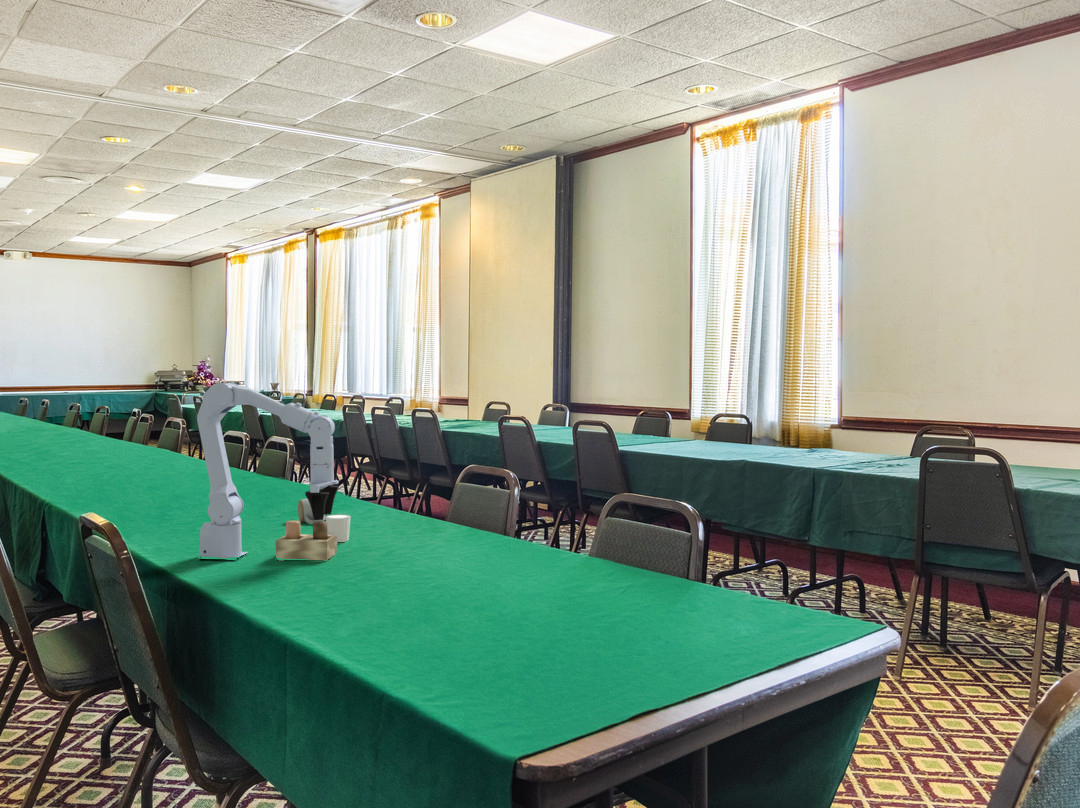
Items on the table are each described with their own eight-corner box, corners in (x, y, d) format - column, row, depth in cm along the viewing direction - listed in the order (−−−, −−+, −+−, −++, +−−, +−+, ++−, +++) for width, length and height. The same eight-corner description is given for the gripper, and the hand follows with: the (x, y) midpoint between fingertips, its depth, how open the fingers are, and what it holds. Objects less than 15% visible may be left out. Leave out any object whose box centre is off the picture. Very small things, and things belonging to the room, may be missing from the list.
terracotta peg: (283, 541, 213) (283, 522, 213) (288, 539, 217) (288, 520, 217) (297, 542, 213) (297, 523, 213) (302, 539, 217) (302, 520, 217)
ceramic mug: (296, 520, 266) (296, 496, 266) (323, 518, 270) (323, 494, 269) (303, 526, 257) (303, 501, 256) (330, 524, 260) (330, 499, 260)
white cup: (354, 539, 238) (354, 514, 238) (346, 544, 231) (346, 518, 231) (330, 538, 239) (330, 513, 238) (321, 543, 232) (321, 518, 232)
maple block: (275, 560, 212) (275, 540, 211) (287, 553, 219) (287, 534, 219) (327, 561, 211) (327, 541, 211) (336, 554, 219) (336, 535, 218)
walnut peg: (310, 542, 213) (310, 523, 213) (315, 539, 217) (315, 520, 216) (325, 542, 213) (324, 523, 213) (329, 539, 216) (329, 521, 216)
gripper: (330, 467, 207) (330, 522, 208) (344, 460, 222) (345, 512, 223) (301, 467, 208) (302, 522, 208) (318, 460, 222) (318, 511, 223)
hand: (322, 516), depth 215 cm, fingers open, 7 cm apart
